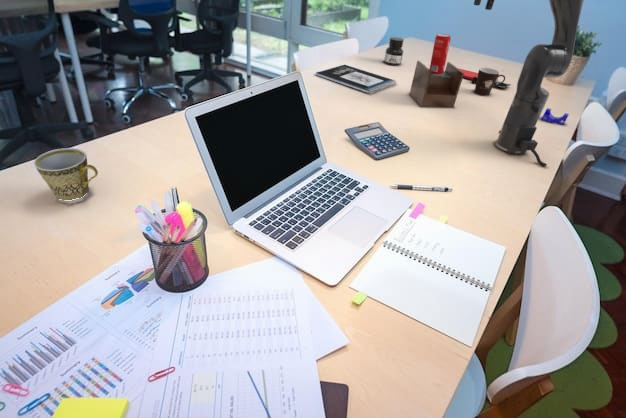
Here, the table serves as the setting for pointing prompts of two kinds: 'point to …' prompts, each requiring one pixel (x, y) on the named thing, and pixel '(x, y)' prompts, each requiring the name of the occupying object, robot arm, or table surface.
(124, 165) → the table surface
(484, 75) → the coffee mug
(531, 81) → the robot arm
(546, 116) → the cable holder
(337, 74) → the sketchbook
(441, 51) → the beverage can
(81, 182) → the ceramic cup
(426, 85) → the shelf
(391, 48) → the ink bottle
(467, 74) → the red board with handle
